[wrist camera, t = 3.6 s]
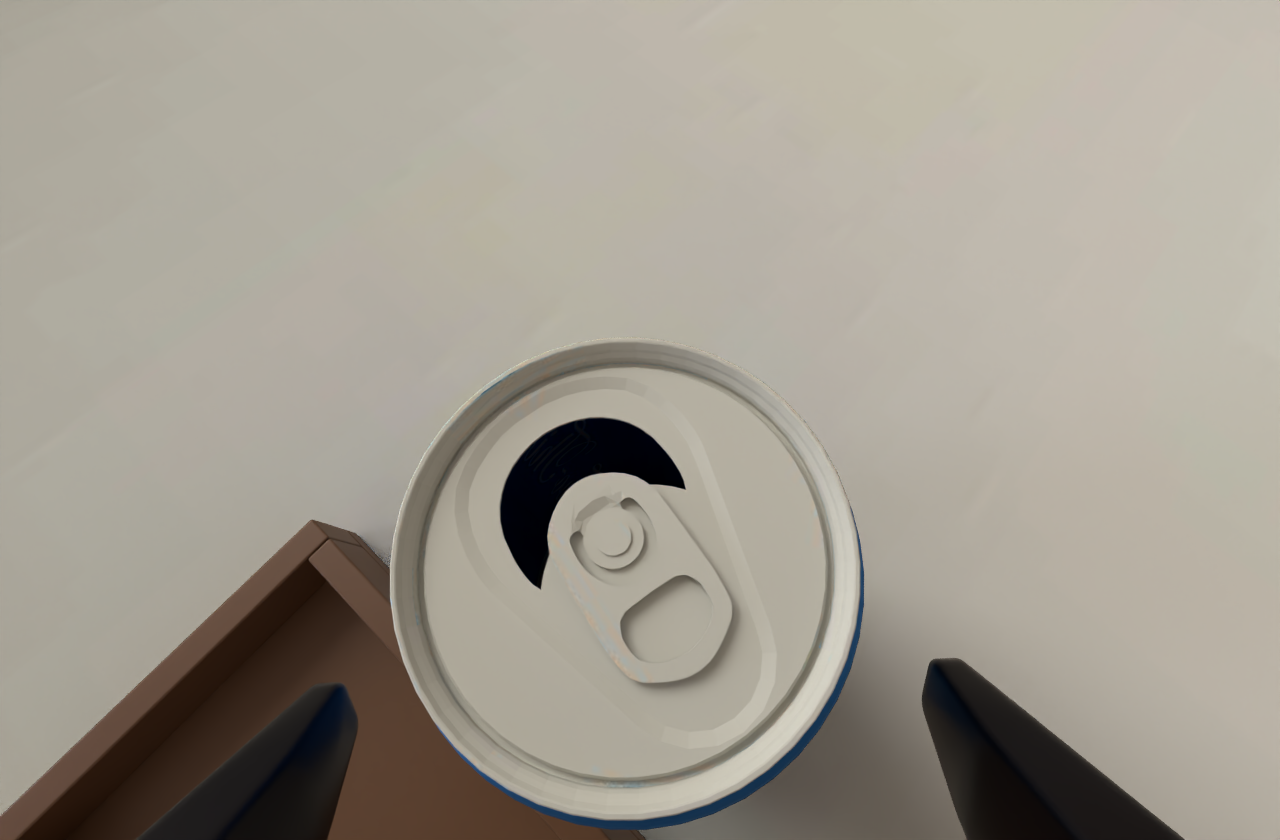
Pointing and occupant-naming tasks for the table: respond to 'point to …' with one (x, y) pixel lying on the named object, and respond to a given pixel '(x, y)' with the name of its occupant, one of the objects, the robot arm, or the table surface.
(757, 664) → the beverage can
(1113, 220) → the table surface
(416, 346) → the table surface
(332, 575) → the tray
